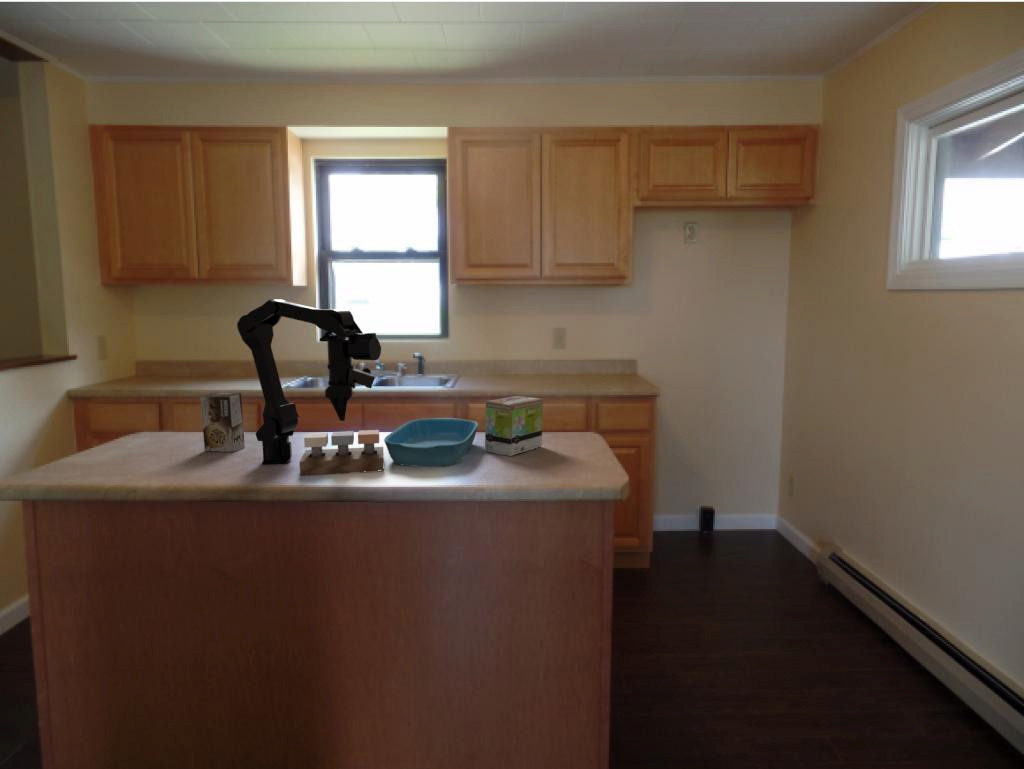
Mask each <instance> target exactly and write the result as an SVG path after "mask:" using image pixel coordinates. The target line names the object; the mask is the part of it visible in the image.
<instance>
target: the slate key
mask: <svg viewBox="0 0 1024 769" xmlns="http://www.w3.org/2000/svg"><path fill="white" fill-rule="evenodd" d="M354 432H355V431H354V430H349V431H332V434H331V437H330V438H331V442H330V443H331V447H333V446H334V447H335V446H337V449H338V456H348V455H349V450H348V448H349V446H352V445H354V441H355V435H354V434H355V433H354Z"/></svg>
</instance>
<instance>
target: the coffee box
mask: <svg viewBox="0 0 1024 769" xmlns="http://www.w3.org/2000/svg"><path fill="white" fill-rule="evenodd" d="M199 398H200V399H199V400H200V410H201V422H202V431H203V432H202V433H203V445H204V452H205V451H219V452H221V453H222V452H226V453H227V452H228V453H229V452H230V453H234V451H235V452H237V451H239V450H243V448H244V449H245V447H246V446H245V431H244V416H243V404H242V403H243V402H242V393H239V392H236V393H235V392H212V393H207V394H205V395H201V396H199Z"/></svg>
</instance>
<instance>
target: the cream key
mask: <svg viewBox="0 0 1024 769" xmlns="http://www.w3.org/2000/svg"><path fill="white" fill-rule="evenodd" d="M328 443H329V433H328V432H319V433H318V432H317V433H316V432H313V433H306V434H305V435H304V437H303V444H304V448H311V449H310V450H311V451H312V457H322V450H323V447H324V448H325V447H327V445H328Z"/></svg>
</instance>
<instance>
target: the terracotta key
mask: <svg viewBox="0 0 1024 769" xmlns="http://www.w3.org/2000/svg"><path fill="white" fill-rule="evenodd" d="M357 444H358V445H363V448H364V455H369V454H375V452H374V447H375V444H380V430H379V429H367V430H358V432H357Z"/></svg>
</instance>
